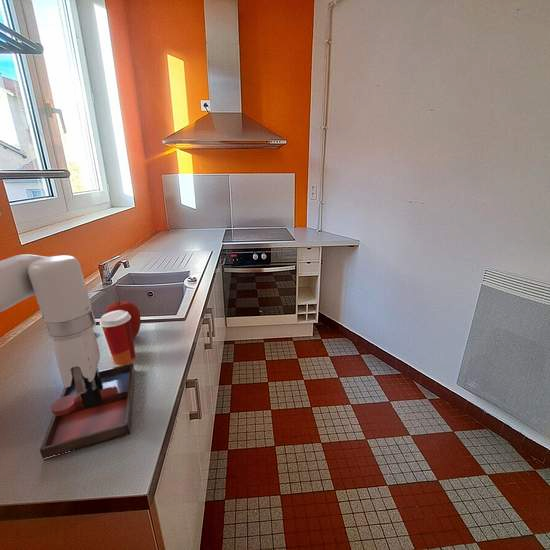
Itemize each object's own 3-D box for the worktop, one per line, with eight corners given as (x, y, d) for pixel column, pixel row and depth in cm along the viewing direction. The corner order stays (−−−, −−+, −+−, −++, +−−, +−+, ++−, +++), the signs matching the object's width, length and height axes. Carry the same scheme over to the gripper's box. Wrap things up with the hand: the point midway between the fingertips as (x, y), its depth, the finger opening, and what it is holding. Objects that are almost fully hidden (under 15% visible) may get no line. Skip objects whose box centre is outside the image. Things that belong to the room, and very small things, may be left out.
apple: (151, 333, 99) (143, 295, 94) (125, 350, 90) (115, 308, 86) (129, 327, 103) (120, 290, 98) (102, 342, 95) (92, 302, 90)
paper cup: (127, 348, 91) (117, 307, 86) (145, 354, 88) (136, 312, 83) (103, 363, 85) (91, 319, 80) (122, 370, 81) (110, 325, 76)
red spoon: (119, 387, 66) (117, 379, 65) (117, 401, 62) (115, 393, 61) (56, 403, 62) (53, 395, 61) (49, 419, 58) (46, 410, 57)
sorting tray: (43, 460, 57) (39, 450, 56) (70, 386, 76) (67, 377, 75) (130, 434, 62) (127, 424, 61) (135, 371, 81) (133, 362, 80)
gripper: (59, 308, 62) (81, 381, 68) (32, 349, 48) (64, 436, 54) (100, 301, 64) (118, 372, 71) (86, 338, 50) (110, 422, 57)
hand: (94, 399), depth 62 cm, fingers closed on red spoon, 2 cm apart
